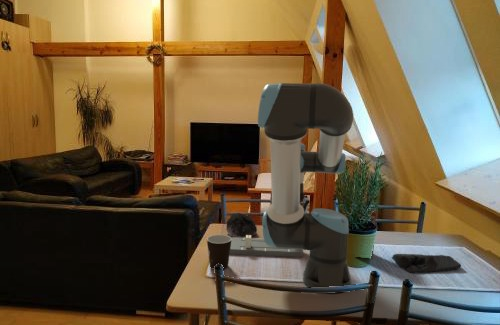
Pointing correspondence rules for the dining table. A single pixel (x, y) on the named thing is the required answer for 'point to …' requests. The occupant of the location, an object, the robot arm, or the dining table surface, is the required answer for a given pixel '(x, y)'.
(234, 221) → the dark grey rounded lump
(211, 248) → the coffee mug
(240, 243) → the console
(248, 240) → the fader left
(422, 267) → the dark slate chunk
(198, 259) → the dining table surface
